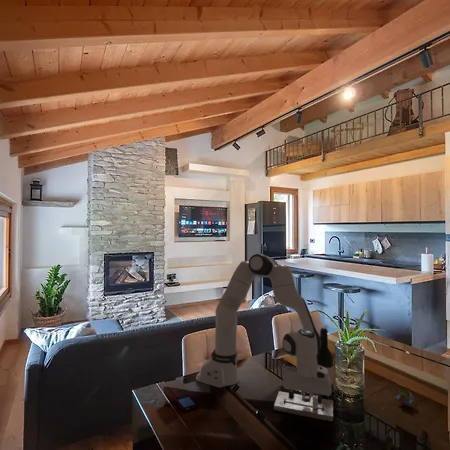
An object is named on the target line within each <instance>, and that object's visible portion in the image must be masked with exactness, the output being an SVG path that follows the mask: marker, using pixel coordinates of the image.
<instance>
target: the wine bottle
mask: <svg viewBox="0 0 450 450" xmlns="http://www.w3.org/2000/svg"><path fill="white" fill-rule="evenodd" d="M328 332H329V331H328V329H327V327H321V329H320V332H319V336H320V339H321V347H320V349H319V350H318V352H317V364H319V365H321V366H323V367H325V368H327V369H328V376H329V377H330V381H331V391H332V392H333V393H334V355H332V353H331V351H330V349H329V345H328Z"/></svg>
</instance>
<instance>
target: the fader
mask: <svg viewBox="0 0 450 450" xmlns="http://www.w3.org/2000/svg"><path fill="white" fill-rule="evenodd" d="M316 395H317V394H315V395H314V394H313V396H312V397H313V408H315V409H318V396H316Z"/></svg>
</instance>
